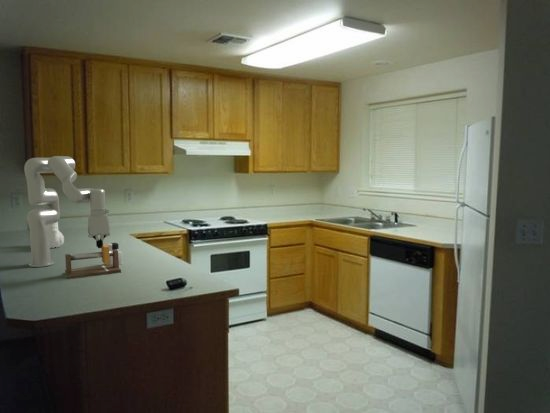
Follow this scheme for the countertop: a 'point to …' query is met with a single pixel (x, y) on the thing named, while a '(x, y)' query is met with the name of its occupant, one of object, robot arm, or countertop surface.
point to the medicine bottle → (115, 247)
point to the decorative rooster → (55, 235)
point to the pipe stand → (91, 270)
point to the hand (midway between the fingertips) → (99, 247)
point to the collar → (105, 254)
